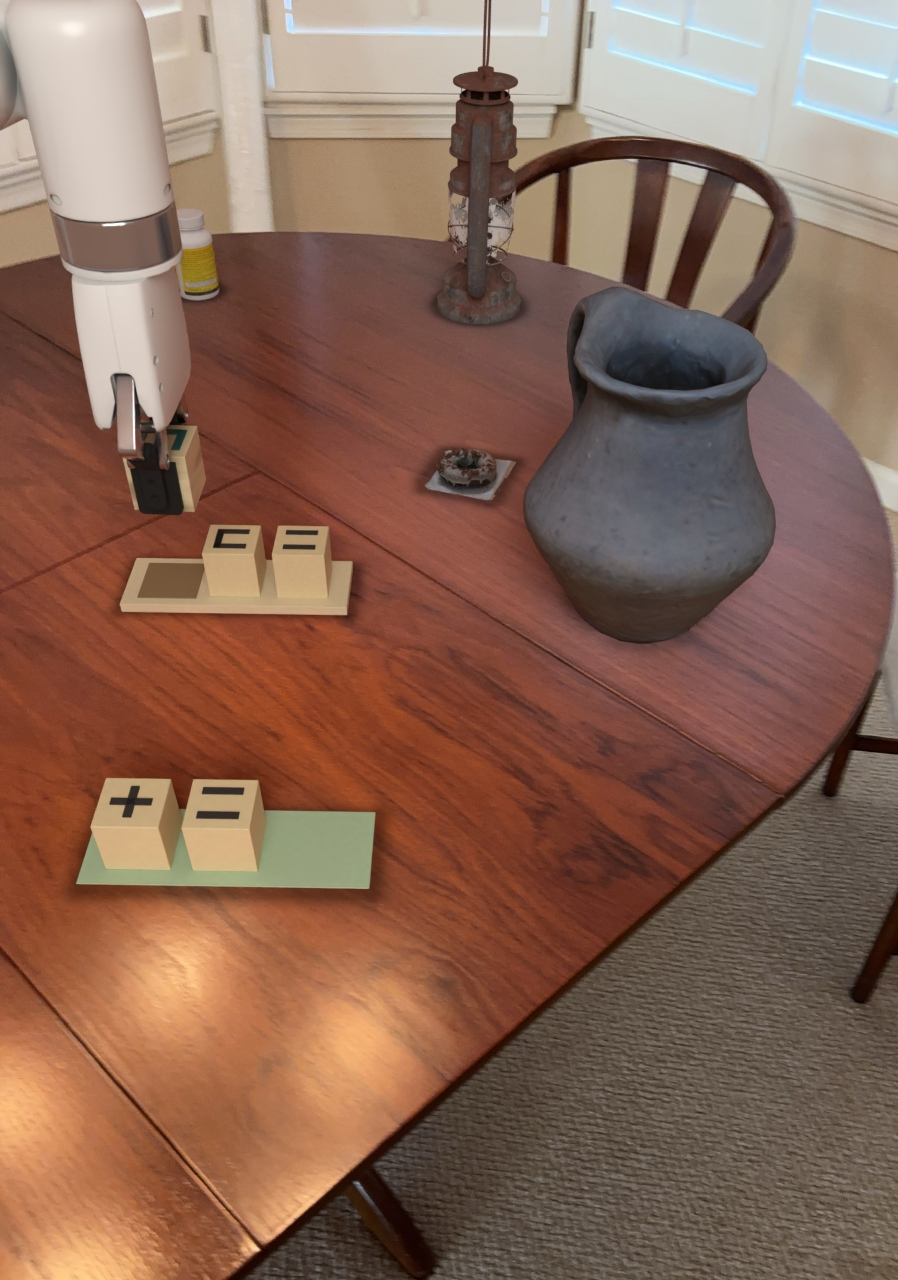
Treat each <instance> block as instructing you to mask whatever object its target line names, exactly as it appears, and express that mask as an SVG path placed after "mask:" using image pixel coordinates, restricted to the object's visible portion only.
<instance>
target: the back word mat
mask: <svg viewBox="0 0 898 1280" xmlns="http://www.w3.org/2000/svg"><path fill="white" fill-rule="evenodd" d="M331 548H332V547H331V535H330V526H329V525H328V526H327V525H277V528H276V534H275V538H274V543H273V547H272V552H271V559H267V558H266V552H265V544H264V538H263V530H262V526H261V524H260V525H257V524H256V525H255V524H210V525H209V528H208V532H207V535H206V538H205V542H204V545H203V548H202V552H201V557H202V558H177V557H176V558H175V557H173V558H171V557H169V558H168V557H166V558H165V557H136V558H135V561H134V563H133V566H132V568H131V569H132V570H131V572H130V574H129V577H128V580H127V583H126V586H125V588H124V591H123V593H122V596H121V599H120V601H119V607H120V611H121V612H122V613H126V612H127V613H178V614H179V613H186V614H187V613H188V614H189V613H190V614H241V615H243V614H246V615H247V614H248V615H250V614H251V615H252V614H253V615H308V616H309V615H315V616H348V613H349V604H350V597H351V589H352V581H353V574H354V563H353V561H352V560H333V559H332V549H331Z"/></svg>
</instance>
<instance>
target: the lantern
mask: <svg viewBox="0 0 898 1280" xmlns="http://www.w3.org/2000/svg"><path fill="white" fill-rule="evenodd" d="M491 23H492V0H484V4H483V30H482V35H483V36H482V65H481V66H478V67H477V71H476V70H474V71H468V72H462V73H459V74H456V75H455V76H454V77H452V84H453V85H454V86H456V87H458V88H460V93H459V96H458V97H459V99H458V100H456V102H455V123H453V124H452V125H451V127H450V145H449V148H448V149H449V150H448V152H449V154H450V155H451V156H452V157H453V158H455V159H457V161H456V162H457V163H456V166H455V167H454V168H452V169H451V170H450V172H449V180H448V182H447V188H448V201H449V212H448V218H449V219H448V222H447V233H448V235H449V237H450V239H451V241H452V242H453V243H455V244H453V246H451V247H452V249H453V250H452V251H453V252H452V257H453V259H454V260H455V261H456V262H457V263H455V264H454V265H452V266H451V267H449V268H447V269H446V270H445V271H444V272H443V274H442V290H440V292H438V294H437V297H436V309H437V311H438V313H440V315H441V316H444V317H445V318H447V319H450V320H451V321H454V322H458V323H463V324H470V325H492V324H498V323H502V322H506V321H508V320H511V319H513V318H514V317H516V316H517V315H518V314H519V312H520V311H521V308H522V300H521V299H522V298H521V296H520V295H519V293H518V292H517V275H516V273H515V272H514V271H513V270H511V269H510V268H508V267H507V266H505V265H504V264H503V263H504V262H505V261H506V260H507V258H508V250H509V249H508V247H510V242H511V239H512V234H513V231H514V230H515V228H514V212H515V205H516V195H517V188H518V184H517V182H516V172H515V171H514V170H513V169H511V168H510V167H509V166H510V165H509V164H510V163H509V162H510V160H512V159H514V158H516V157H517V155H518V152H519V151H518V147H517V139H518V138H517V136H518V135H517V134H518V128H517V126H516V125H515V124H514V111H515V109H514V108H515V104H514V102H513V101H512V100H511V97H512V96H511V94H510V90H511V89H514V88H516V87H517V86H518V84H519V79H518V78H517V77H516V76H514V75H512V74H509V73H505V72H500V71H495V67H494V66H491V65H490V54H491V53H490V52H491V30H492V29H491V28H492V27H491V26H492V25H491ZM454 194H456V195H458V196H461V197H462V198H461V203H455V204H454V203H453V202H452V199H453V195H454ZM511 194H512V195H511ZM509 195H511V197H510V199H508V197H507V196H509ZM502 197H507V198H506V199H507V203H506V204H505V202H504V200H502V201H498V198H502ZM458 199H459V200H460V198H458ZM456 237H457V239H456ZM499 240H501V241H499ZM458 242H459V243H458ZM461 243H462V244H461ZM498 243H500V245H499V244H498ZM505 245H507V247H506V246H505ZM457 246H458V247H457ZM504 246H505V248H506V249H504V248H502V247H504ZM493 248H494V249H493ZM459 250H463V251H465V252H466V256H465V257H464V258H462V259H458V258H457V257H456V256H455V255H456V254H457V253H458V252H459ZM498 250H499V251H502V252H503V253H504V255H505V256H504V258H503V259H502V258H500V259H499V261H498V260H497V259H496V258H497V252H498Z"/></svg>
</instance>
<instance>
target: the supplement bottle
mask: <svg viewBox="0 0 898 1280" xmlns="http://www.w3.org/2000/svg"><path fill="white" fill-rule="evenodd" d="M176 211H177V217H178V223H179V230H180V236H181V242H182V248H183V258H182V260H181V262H180V263H179V264H178V265H177V266H175V272H176V277H177V281H178V286H179V291H180V296H181V298H182V299H185V300H187V301H188V300H189V301H206V300H209V299H213V298H215V297H216V296H217V295H219V293H220V284H219V283H220V282H219V276H218V268H217V263H216V255H215V249H214V248H215V247H214V242H213V241H214V240H213V236H212V233H211V232H210V231H209V230H208V229H207V228H205V227H204V226H205V217H204V212H203V211H202V209H198V208H193V207H187V208H186V207H185V208H179V209H176Z"/></svg>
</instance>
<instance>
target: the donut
mask: <svg viewBox="0 0 898 1280" xmlns="http://www.w3.org/2000/svg"><path fill="white" fill-rule="evenodd" d="M444 453H445V454H444V455H443V456H442V457H441V459H440V460H439V463H438V464H436V465H435V467H436V470H435V472H434V473H433V474H432V476H431V478H430V480H429V481H428V482H426V483H425V484H424V487H425V488H426V490H429V491H437V492H442V493H446V494H451V495H455V496H461V497H466V498H472V499H477V500H483V501H487V502H488V501H493V500H494V497H496V495H495V494H496V493H497V490H498V492H500V490H501V489H500V488H499V487H500V486H501V485H502V483H503V482H504V480H505V479H507V478H508V477H509V476H510V474H511V472H512V470H513V469H514V467H515V465H516V463H517V461H514V460H510V459H500V458H494V457H493V455H492V454H490V453H488V452H487V451H485V450H481V449H478V448H477V449H475V448H471V449H470V448H463V447H462V448H460V449H456V450H451V449H447V450H445V451H444ZM457 484H458V485H459V486H456V485H457Z"/></svg>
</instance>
